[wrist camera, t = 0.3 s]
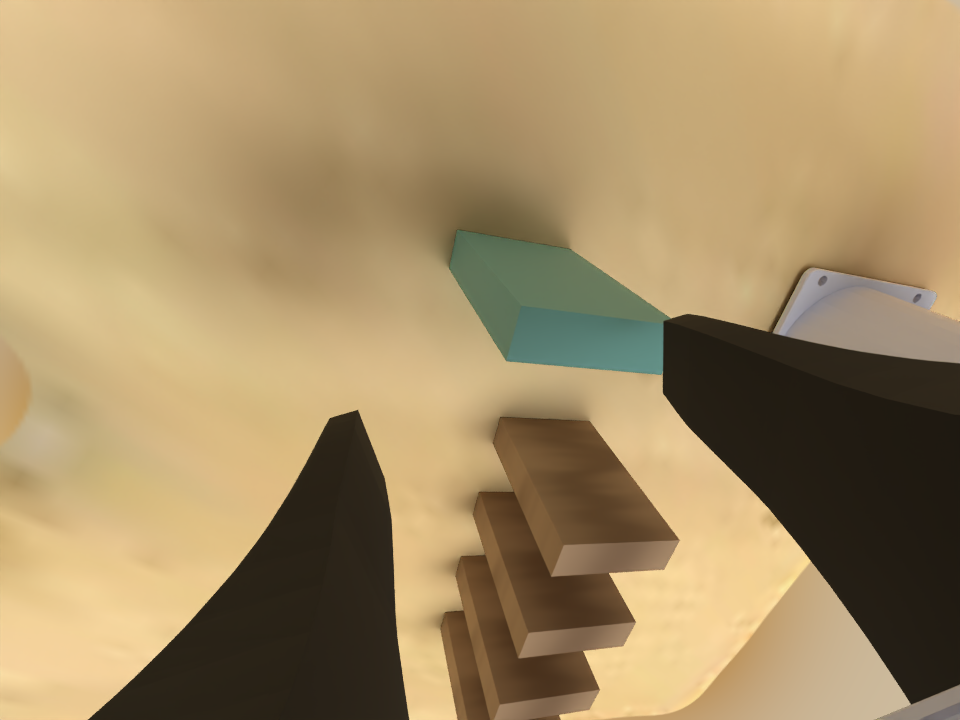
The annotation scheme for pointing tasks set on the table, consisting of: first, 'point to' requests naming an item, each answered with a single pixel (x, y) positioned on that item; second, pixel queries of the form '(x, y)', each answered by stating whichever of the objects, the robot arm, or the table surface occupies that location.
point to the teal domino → (556, 306)
